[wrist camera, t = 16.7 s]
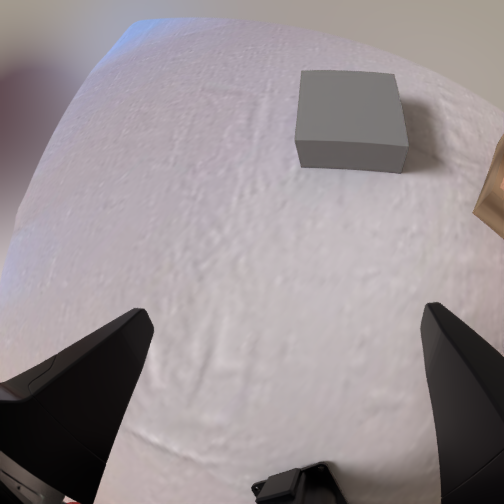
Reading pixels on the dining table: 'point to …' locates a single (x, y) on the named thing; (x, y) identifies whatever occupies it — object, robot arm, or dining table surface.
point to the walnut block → (493, 194)
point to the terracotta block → (502, 185)
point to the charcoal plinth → (350, 121)
